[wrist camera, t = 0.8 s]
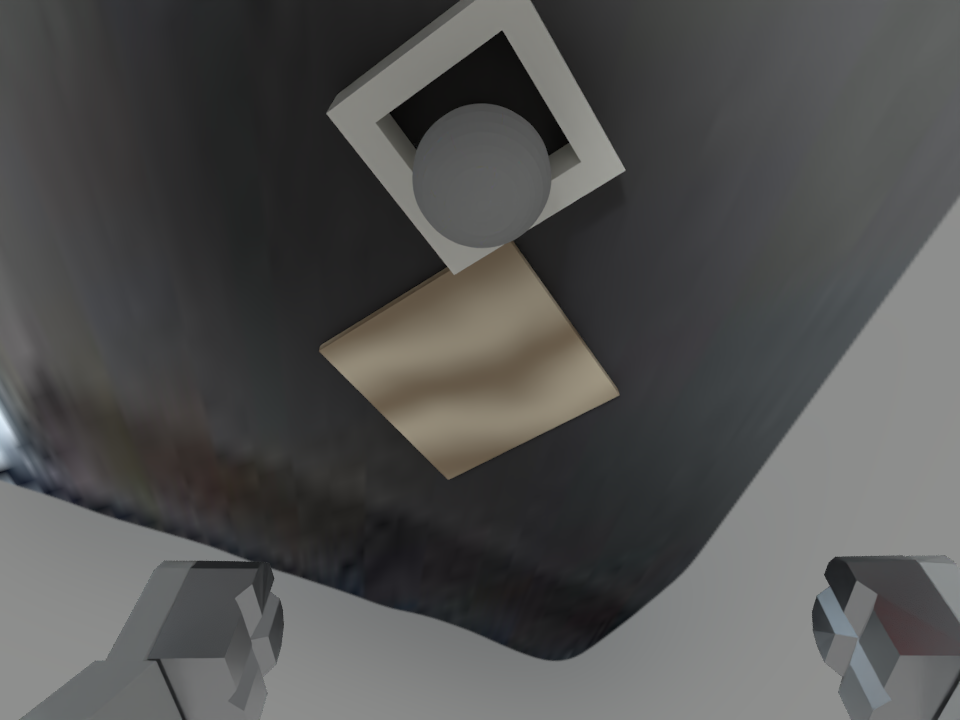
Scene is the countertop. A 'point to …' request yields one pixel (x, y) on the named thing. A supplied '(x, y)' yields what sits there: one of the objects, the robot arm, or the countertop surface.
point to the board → (472, 362)
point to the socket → (440, 45)
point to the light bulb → (481, 175)
